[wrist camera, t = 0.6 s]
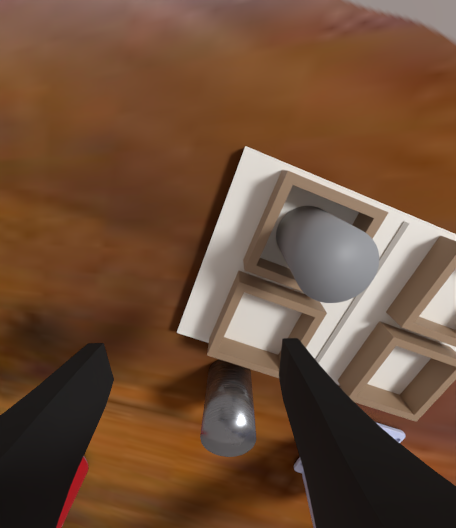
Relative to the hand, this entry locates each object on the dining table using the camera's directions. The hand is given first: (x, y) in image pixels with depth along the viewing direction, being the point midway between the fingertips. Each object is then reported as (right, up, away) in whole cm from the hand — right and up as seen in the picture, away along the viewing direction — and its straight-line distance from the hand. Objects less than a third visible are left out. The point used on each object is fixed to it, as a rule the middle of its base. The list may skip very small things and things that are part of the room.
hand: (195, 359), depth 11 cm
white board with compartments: (+11, +1, +10) cm, 15 cm away
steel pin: (+1, -6, +14) cm, 15 cm away
